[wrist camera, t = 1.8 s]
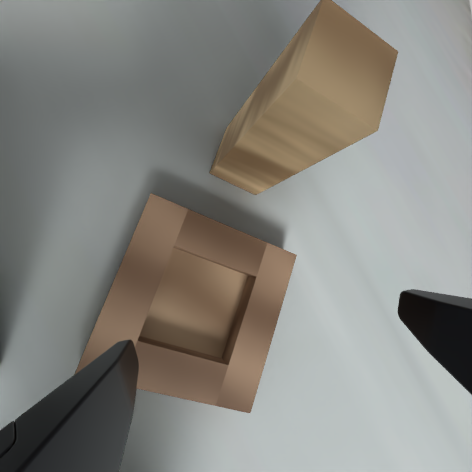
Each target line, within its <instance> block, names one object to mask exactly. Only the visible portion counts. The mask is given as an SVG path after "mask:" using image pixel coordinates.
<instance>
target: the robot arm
mask: <svg viewBox="0 0 472 472" xmlns="http://www.w3.org/2000/svg"><path fill="white" fill-rule="evenodd" d="M398 315H399V318H400V319H401V321H402V322H403V323H404V324H405V325H406V327H407V328H408V329H409V330H410V331H411V332H412V334H413V335H414V336H415V337H416V338H417V340H418V341H419V342H420V343H421V344H422V345H423V347H424V348H425V349H426V350H427V351H428V352H429V353H430V354H431V355H432V356H433V357H434V358H435V359H436V360H437V361H438V362H439V363H440V364H441V365H442V366H443V367H444V368H445V369H446V370H447V371H448V372H449V373H450V374H451V375H452V376H453V377H454V378H455V379H456V380H457V381H458V382H459V383H460V384H461V385H462V386H463V387H464V388H465V389H466V390H467V391H468V392H469V393H470V394H471V395H472V299H470V298H464V297H458V296H452V295H445V294H439V293H433V292H427V291H421V290H414V289H411V290H406V291H402V292H401V294H400V298H399V305H398ZM138 371H139V362H138V357H137V353H136V350H135V346H134V343H133V341H132V340H131V339H129V340H123V341H119V342H117V343H116V344H114V345H113V346H112V347H111V348H109V349H108V350H107V351H105V352H104V353H103V354H101V355H100V356H99V357H97V358H96V359H95V360H93V361H92V362H91V363H89V364H88V365H87V366H85V367H84V368H83V369H81V370H80V371H79V372H78V373H76V374H75V375H74V376H72V377H71V378H70V379H68V380H67V381H66V382H64V383H63V384H62V385H60V386H59V387H58V388H56V389H55V390H54V391H52V392H51V393H50V394H48V395H47V396H46V397H45V398H43V399H42V400H41V401H39V402H38V403H37V404H35V405H34V406H33V407H31V408H30V409H29V410H27V411H26V412H25V413H23V414H22V415H21V416H19V417H18V418H17V419H16V420H15V422H14V421H13V422H11V423H9V424H8V425H7V426H5V427H4V428H3V429H1V430H0V472H119V469H120V465H121V461H122V457H123V453H124V449H125V445H126V441H127V437H128V432H129V428H130V424H131V420H132V416H133V411H134V404H135V396H136V387H137V379H138Z"/></svg>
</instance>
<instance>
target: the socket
mask: <svg viewBox="0 0 472 472" xmlns="http://www.w3.org/2000/svg"><path fill="white" fill-rule="evenodd" d="M296 256H297V255H295V254H293V253H291V252H288V251H286V250H284V249H281V248H279V247H276V246H274V245H272V244H269V243H267V242H265V241H262V240H260V239H258V238H255V237H253V236H251V235H248V234H246V233H244V232H241V231H239V230H236V229H234V228H232V227H229V226H227V225H225V224H222V223H220V222H218V221H215V220H213V219H211V218H208V217H206V216H204V215H201V214H199V213H196V212H194V211H192V210H189V209H187V208H185V207H182V206H180V205H178V204H175V203H173V202H171V201H168V200H166V199H164V198H161V197H159V196H156V195H154V194H152V193H151V194H150V196H149V199H148V201H147V203H146V206H145V208H144V210H143V213H142V215H141V218H140V220H139V222H138V225H137V227H136V229H135V232H134V234H133V237H132V239H131V241H130V244H129V246H128V248H127V251H126V253H125V256H124V258H123V260H122V263H121V265H120V267H119V270H118V272H117V274H116V277H115V279H114V282H113V284H112V286H111V289H110V291H109V293H108V296H107V298H106V301H105V303H104V305H103V308H102V310H101V312H100V315H99V317H98V320H97V322H96V324H95V327H94V329H93V331H92V334H91V336H90V339H89V341H88V343H87V346H86V348H85V350H84V353H83V355H82V358H81V360H80V362H79V365H78V367H77V369H76V372H75V374H76V373H78V372H79V371H80V370H81V369H83V368H84V367H85V366H87V365H88V364H89V363H91V362H92V361H93V360H95V359H96V358H97V357H99V356H100V355H101V354H103V353H104V352H105V351H107V350H108V349H109V348H111V347H112V346H113V345H114V344H116V343H117V342H119V341H123V340H129V339H131V340H132V341H133V343H134V346H135V350H136V353H137V357H138V362H139V371H138V379H137V387H136V388H137V389H141V390H146V391H151V392H155V393H160V394H164V395H169V396H173V397H178V398H183V399H187V400H192V401H196V402H201V403H205V404H210V405H215V406H219V407H224V408H228V409H233V410H237V411H242V412H247V413H250V412H251V409H252V406H253V402H254V399H255V395H256V392H257V389H258V385H259V382H260V378H261V375H262V371H263V368H264V365H265V361H266V358H267V354H268V351H269V348H270V344H271V341H272V337H273V334H274V331H275V327H276V324H277V320H278V317H279V313H280V310H281V307H282V303H283V300H284V296H285V293H286V290H287V286H288V283H289V279H290V276H291V273H292V269H293V266H294V262H295V259H296ZM75 374H74V375H75Z"/></svg>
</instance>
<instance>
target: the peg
mask: <svg viewBox="0 0 472 472" xmlns="http://www.w3.org/2000/svg"><path fill="white" fill-rule="evenodd" d="M397 54H398V51H397V50H395V49H394V48H393V47H391V46H390V45H389V44H388V43H386V42H385V41H384V40H382V39H381V38H380V37H378V36H377V35H376V34H375V33H373V32H372V31H371V30H369V29H368V28H367V27H366V26H364V25H363V24H362V23H360V22H359V21H358V20H356V19H355V18H354V17H353V16H351V15H350V14H349V13H347V12H346V11H345V10H343V9H342V8H341V7H340V6H338V5H337V4H336V3H334V2H333V1H332V0H320V2H319V3H318V5H317V6H316V7H315V9H314V10H313V11H312V13H311V14H310V15H309V17H308V18H307V19H306V21H305V22H304V24H303V25H302V26H301V28H300V29H299V30H298V32H297V33H296V34H295V36H294V37H293V38H292V40H291V41H290V42H289V44H288V45H287V47H286V48H285V49H284V51H283V52H282V53H281V55H280V56H279V57H278V59H277V60H276V61H275V63H274V64H273V66H272V67H271V68H270V70H269V71H268V72H267V74H266V75H265V76H264V78H263V79H262V80H261V82H260V83H259V85H258V86H257V87H256V89H255V90H254V91H253V93H252V94H251V95H250V97H249V98H248V99H247V101H246V102H245V103H244V105H243V106H242V108H241V109H240V110H239V112H238V113H237V114H236V116H235V117H234V118H233V120H232V121H231V122H230V124H229V125H228V127H227V128H226V131H225V133H224V136H223V139H222V141H221V144H220V147H219V149H218V152H217V154H216V157H215V160H214V162H213V165H212V167H211V170H210V174H212V175H214V176H216V177H218V178H220V179H223V180H225V181H227V182H229V183H231V184H233V185H235V186H237V187H239V188H242V189H244V190H246V191H248V192H250V193H252V194H254V195H257V194H259V193H261V192H263V191H264V190H266V189H268V188H270V187H272V186H274V185H276V184H278V183H280V182H281V181H283V180H285V179H287V178H289V177H291V176H293V175H295V174H297V173H299V172H300V171H302V170H304V169H306V168H308V167H310V166H312V165H314V164H316V163H317V162H319V161H321V160H323V159H325V158H327V157H329V156H331V155H333V154H335V153H336V152H338V151H340V150H342V149H344V148H346V147H348V146H350V145H352V144H353V143H355V142H357V141H359V140H361V139H363V138H365V137H367V136H369V135H371V134H372V133H374V132H376V131H378V128H379V124H380V120H381V116H382V112H383V108H384V105H385V101H386V97H387V93H388V89H389V85H390V81H391V77H392V73H393V70H394V66H395V62H396V58H397Z"/></svg>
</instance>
